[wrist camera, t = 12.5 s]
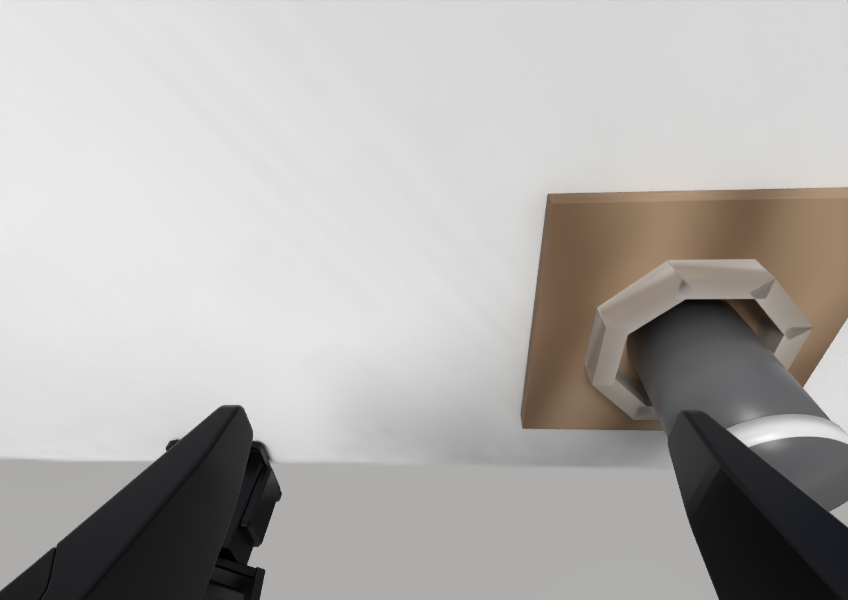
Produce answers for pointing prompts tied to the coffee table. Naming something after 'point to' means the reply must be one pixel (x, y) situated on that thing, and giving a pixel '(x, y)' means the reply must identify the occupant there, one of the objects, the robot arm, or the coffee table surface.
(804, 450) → the lens cylinder
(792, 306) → the collar holder
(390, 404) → the coffee table surface
